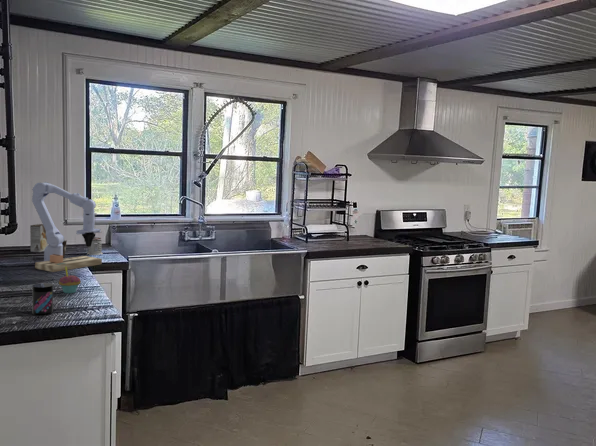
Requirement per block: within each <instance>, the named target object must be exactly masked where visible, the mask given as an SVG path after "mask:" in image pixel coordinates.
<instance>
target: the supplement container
mask: <svg viewBox="0 0 596 446" xmlns="http://www.w3.org/2000/svg"><path fill="white" fill-rule="evenodd" d="M31 289H32V290H31V292H32V299H31V300H32V304H31V305H32V308H31V309H32V311H31V312H32V314H33V315H34V316H37V317H39V316H40V317H42V316H49V315H52V313H53V311H54V284H53V283H47V282H46V283H45V282H41V283H35V284H33V285H32V288H31Z"/></svg>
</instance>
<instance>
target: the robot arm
mask: <svg viewBox="0 0 596 446" xmlns="http://www.w3.org/2000/svg"><path fill="white" fill-rule="evenodd" d="M31 190H32V196H31V197H32V199H31V202H32V203H33V206H34V208H35V210H36V212H37V215H38V216H39V219H40V221H41V224H43V226H44V228H45V230H46V237H47V243H48V246H47V247H46V248H45V250H44V251H43V261H50V255H53V254H58V255H63V245H62V243H63V242H64V240H65V237H64V235H63V234H62V233H61V232H60V230H59V229H58V227H56V225H55V223H54V220H53V218H52V217H51V216H52V215H51V214H50V212H49V210H48V207H47V205H46V203H45V199H46V198H47V196H48V195H49V194H57V195H59V196H60V197H64V198H65V199H68V200H69V202H70V203H71V204H73V205H75V206H78V207H80V208H82V210H83V215H82V216H83V217H82V220H83V221H82V225H83V226H82V227H83V228H82V229H79V230H78V229H77V230H76V231H75V233H76V235H81V236H82V238H83V239H84V240H85V242H84V244H85V246H86V247H87V248H88V247H91V244H92V241H93V238H94V237H96V234H100V232H101V231H102V230H101V228H95V225H96V215H95V213H96V212H95V211H96V210H95V208H96V206H97V203H96V202H95V201H94V200H93V199H89V197H85V196H82V195H81V193H79V192H74V193H71V192H69V191H67V190H65V189H63V188H61V187H59V186H57V185H56V184H53V183H49V182H46V181H43V182H37V183H35V185H34V186H33V187H32V189H31ZM98 232H99V233H98ZM101 233H102V232H101Z"/></svg>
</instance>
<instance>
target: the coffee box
mask: <svg viewBox="0 0 596 446" xmlns="http://www.w3.org/2000/svg"><path fill="white" fill-rule="evenodd" d="M29 232H30V234H29V235H30V241H29V242H30V253H31V252H33V253H42V252H44V250H45V248H46V247H47V246H48V243H47V237H46V230H45V228H44V226H43V223H41V224H40V223H37V224H32V225H30V231H29Z"/></svg>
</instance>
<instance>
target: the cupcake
mask: <svg viewBox="0 0 596 446" xmlns="http://www.w3.org/2000/svg"><path fill="white" fill-rule="evenodd" d="M64 271H65V275H64V276H62V277H60V278H59V280H58V284H59V286H61V288H62V292H63V293H64V294H74V293H77V290H78V289H77V288H78V286H79V285H80V284H81V283H82V282H81V279H80V277H78V276H77V275H69V273H68V270H67V266H66V265H65V270H64Z"/></svg>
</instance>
